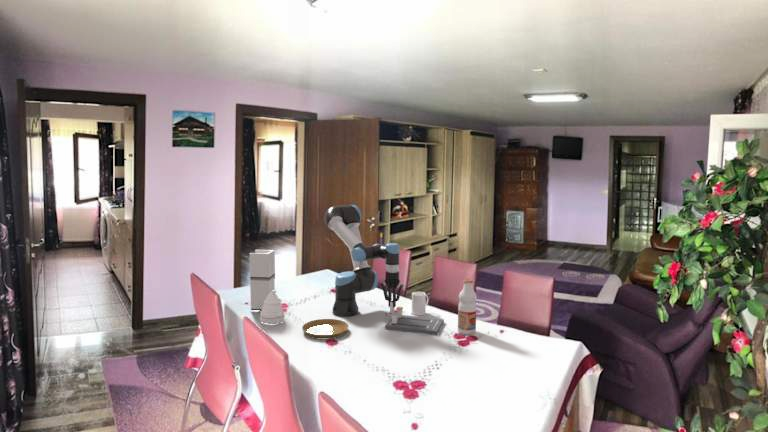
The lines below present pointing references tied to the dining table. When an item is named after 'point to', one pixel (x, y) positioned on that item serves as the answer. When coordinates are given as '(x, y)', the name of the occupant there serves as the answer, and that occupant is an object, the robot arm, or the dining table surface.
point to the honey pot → (272, 309)
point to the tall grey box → (261, 276)
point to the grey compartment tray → (416, 325)
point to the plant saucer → (337, 325)
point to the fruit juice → (467, 309)
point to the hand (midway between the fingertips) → (392, 312)
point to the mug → (419, 303)
